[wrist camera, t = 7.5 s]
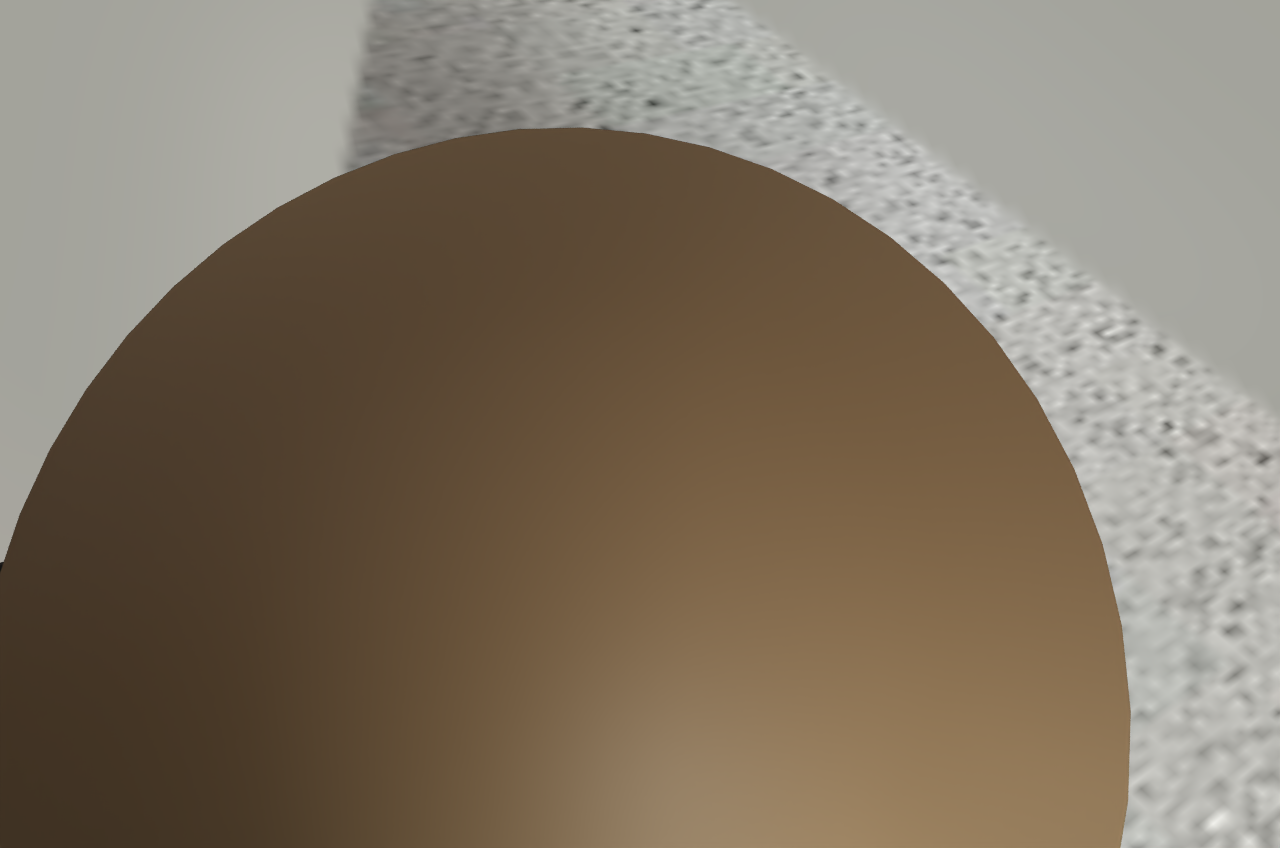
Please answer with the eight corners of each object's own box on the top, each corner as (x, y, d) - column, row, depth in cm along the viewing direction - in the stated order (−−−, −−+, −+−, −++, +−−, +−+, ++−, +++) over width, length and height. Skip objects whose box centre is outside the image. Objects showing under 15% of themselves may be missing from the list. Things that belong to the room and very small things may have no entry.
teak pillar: (787, 709, 14) (1258, 1419, 2) (577, 713, 14) (-131, 1334, 2) (773, 497, 15) (1029, 86, 3) (575, 505, 15) (58, 166, 3)
